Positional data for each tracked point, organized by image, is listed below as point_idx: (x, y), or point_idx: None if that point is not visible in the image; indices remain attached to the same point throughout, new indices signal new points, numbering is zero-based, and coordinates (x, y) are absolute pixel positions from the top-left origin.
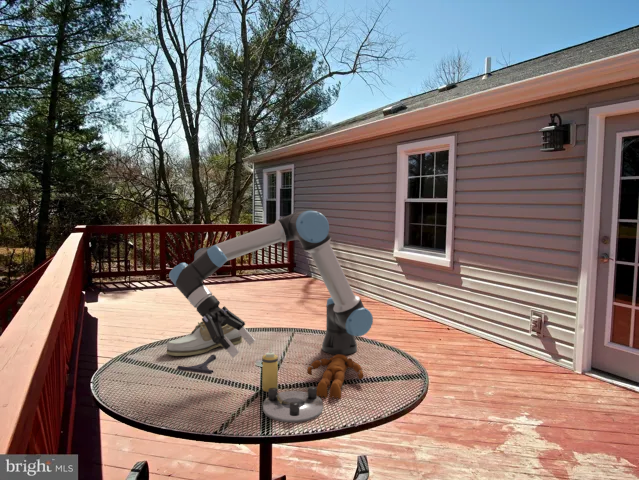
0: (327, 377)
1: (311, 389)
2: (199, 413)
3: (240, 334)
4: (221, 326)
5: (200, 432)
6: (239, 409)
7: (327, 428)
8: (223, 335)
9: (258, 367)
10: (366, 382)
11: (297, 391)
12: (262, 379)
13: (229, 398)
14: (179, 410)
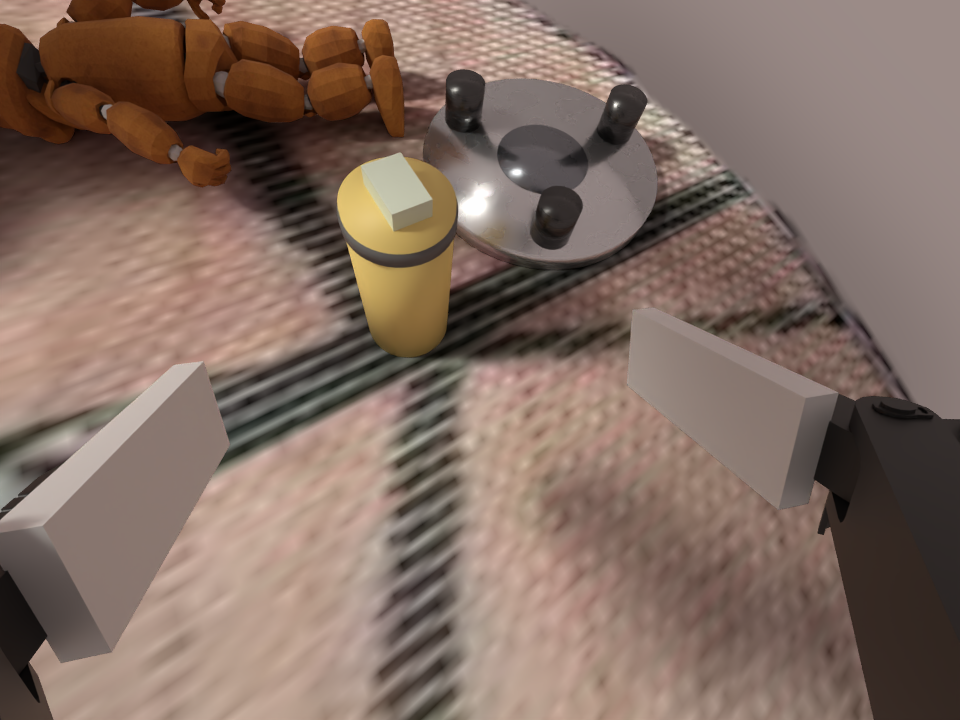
0: (292, 77)
1: (480, 81)
2: None
3: (146, 580)
4: (938, 592)
5: (877, 367)
6: None
7: (602, 65)
8: (873, 422)
9: None
10: None
11: None
12: (431, 325)
13: (600, 442)
14: (844, 592)
